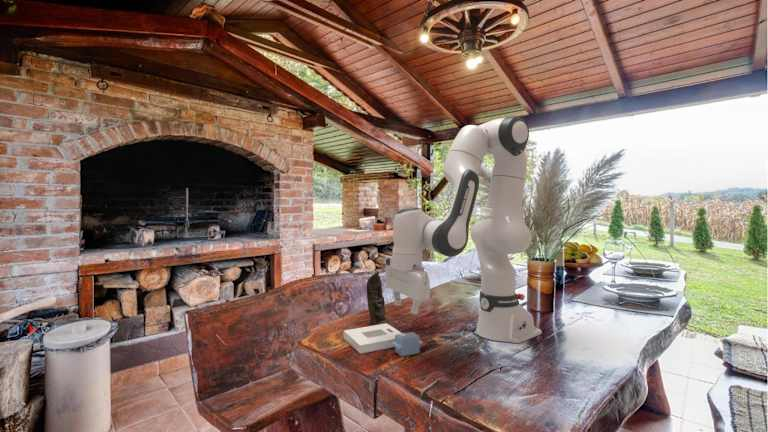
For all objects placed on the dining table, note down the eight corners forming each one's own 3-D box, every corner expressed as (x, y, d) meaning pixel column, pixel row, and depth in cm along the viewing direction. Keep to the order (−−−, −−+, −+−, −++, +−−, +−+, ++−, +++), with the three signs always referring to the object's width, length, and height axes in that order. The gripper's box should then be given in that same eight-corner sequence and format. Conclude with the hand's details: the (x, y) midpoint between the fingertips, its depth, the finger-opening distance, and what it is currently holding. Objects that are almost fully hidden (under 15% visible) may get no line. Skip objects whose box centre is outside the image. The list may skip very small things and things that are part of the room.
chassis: (386, 330, 124) (386, 322, 124) (407, 344, 111) (407, 335, 111) (343, 338, 117) (343, 329, 117) (360, 353, 104) (360, 344, 104)
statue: (385, 328, 126) (385, 272, 125) (366, 326, 127) (366, 271, 127) (389, 322, 133) (389, 268, 132) (370, 320, 134) (370, 268, 134)
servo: (415, 347, 109) (415, 328, 109) (422, 352, 106) (422, 332, 106) (391, 352, 105) (391, 333, 105) (398, 357, 102) (398, 337, 102)
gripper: (436, 267, 97) (435, 318, 97) (399, 257, 115) (398, 300, 115) (416, 268, 94) (415, 320, 94) (382, 258, 112) (381, 301, 113)
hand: (405, 309), depth 105 cm, fingers open, 8 cm apart
